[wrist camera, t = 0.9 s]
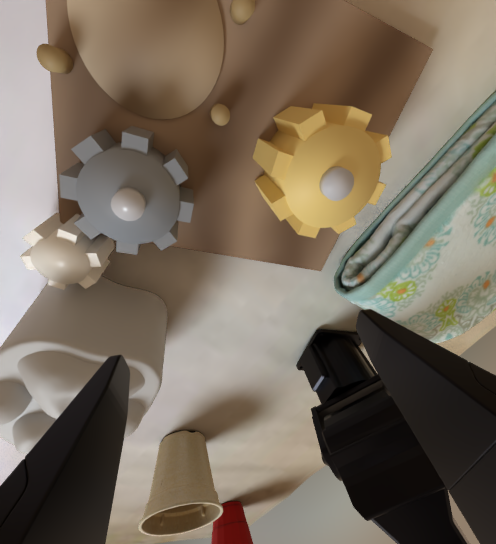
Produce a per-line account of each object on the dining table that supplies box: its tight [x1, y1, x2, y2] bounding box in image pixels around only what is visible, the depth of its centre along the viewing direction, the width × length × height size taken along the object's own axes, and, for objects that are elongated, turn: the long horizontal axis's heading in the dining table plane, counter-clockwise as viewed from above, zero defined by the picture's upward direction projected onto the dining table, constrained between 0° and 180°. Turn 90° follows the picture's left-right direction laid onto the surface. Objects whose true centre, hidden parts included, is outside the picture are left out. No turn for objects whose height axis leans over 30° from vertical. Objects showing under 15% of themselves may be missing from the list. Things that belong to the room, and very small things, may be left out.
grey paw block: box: [0, 276, 168, 454], centre depth 21 cm, size 10×13×9 cm
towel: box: [334, 91, 496, 343], centre depth 24 cm, size 18×21×5 cm
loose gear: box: [253, 103, 392, 238], centre depth 16 cm, size 7×7×6 cm
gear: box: [59, 126, 194, 255], centre depth 15 cm, size 7×7×4 cm
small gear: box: [20, 213, 115, 290], centre depth 18 cm, size 4×4×3 cm
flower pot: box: [138, 431, 223, 536], centre depth 34 cm, size 9×9×9 cm
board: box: [37, 0, 433, 271], centre depth 17 cm, size 20×16×3 cm
